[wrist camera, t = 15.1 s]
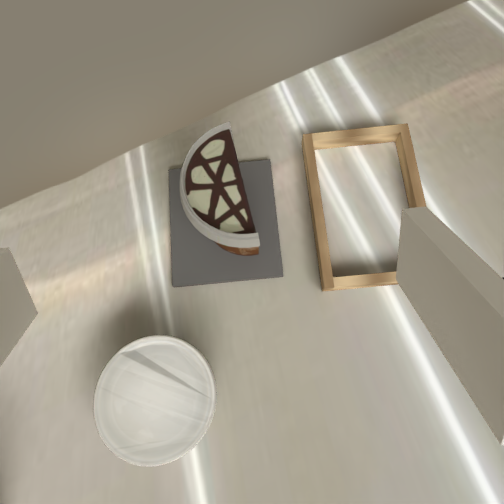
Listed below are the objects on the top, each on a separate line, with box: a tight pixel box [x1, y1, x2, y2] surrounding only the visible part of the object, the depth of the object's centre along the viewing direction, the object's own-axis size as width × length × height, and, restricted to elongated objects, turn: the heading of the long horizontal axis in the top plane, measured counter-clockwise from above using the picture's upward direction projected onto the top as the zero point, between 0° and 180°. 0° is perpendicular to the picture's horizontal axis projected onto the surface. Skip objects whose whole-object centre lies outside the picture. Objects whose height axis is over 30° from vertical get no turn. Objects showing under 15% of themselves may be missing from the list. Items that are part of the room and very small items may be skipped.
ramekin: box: [93, 335, 217, 466], centre depth 39 cm, size 11×11×5 cm
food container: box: [180, 122, 260, 256], centre depth 40 cm, size 12×6×10 cm, turn 13°
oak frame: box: [302, 124, 426, 291], centre depth 45 cm, size 12×18×2 cm, turn 5°
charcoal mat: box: [169, 159, 283, 287], centre depth 45 cm, size 12×14×1 cm
